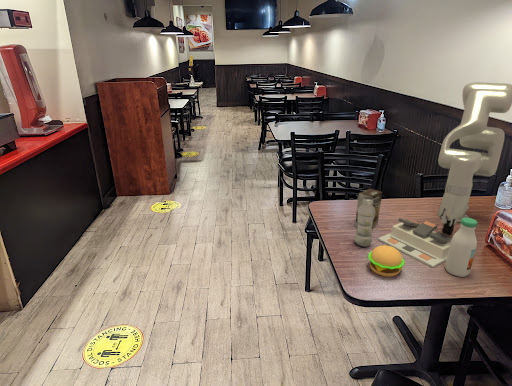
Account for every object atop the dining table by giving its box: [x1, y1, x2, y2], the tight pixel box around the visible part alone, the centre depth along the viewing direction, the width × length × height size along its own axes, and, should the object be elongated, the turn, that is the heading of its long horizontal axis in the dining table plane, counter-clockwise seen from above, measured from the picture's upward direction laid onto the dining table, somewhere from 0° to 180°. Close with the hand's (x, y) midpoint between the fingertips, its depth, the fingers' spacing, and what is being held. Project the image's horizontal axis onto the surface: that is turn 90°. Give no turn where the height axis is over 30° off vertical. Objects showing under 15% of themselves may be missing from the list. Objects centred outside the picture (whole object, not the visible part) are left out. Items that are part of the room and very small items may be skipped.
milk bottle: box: [444, 217, 478, 278], centre depth 118 cm, size 8×8×20 cm
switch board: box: [377, 222, 452, 269], centre depth 136 cm, size 17×24×5 cm
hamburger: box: [367, 244, 405, 278], centre depth 121 cm, size 12×12×9 cm
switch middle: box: [413, 220, 438, 238], centre depth 136 cm, size 8×5×1 cm, turn 123°
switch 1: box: [397, 217, 421, 227], centre depth 142 cm, size 8×5×1 cm, turn 123°
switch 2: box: [430, 230, 454, 243], centre depth 131 cm, size 8×5×1 cm, turn 123°
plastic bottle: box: [354, 197, 375, 247], centre depth 135 cm, size 6×7×20 cm
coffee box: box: [354, 188, 383, 229], centre depth 151 cm, size 9×6×16 cm
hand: (446, 233), depth 132 cm, fingers closed
